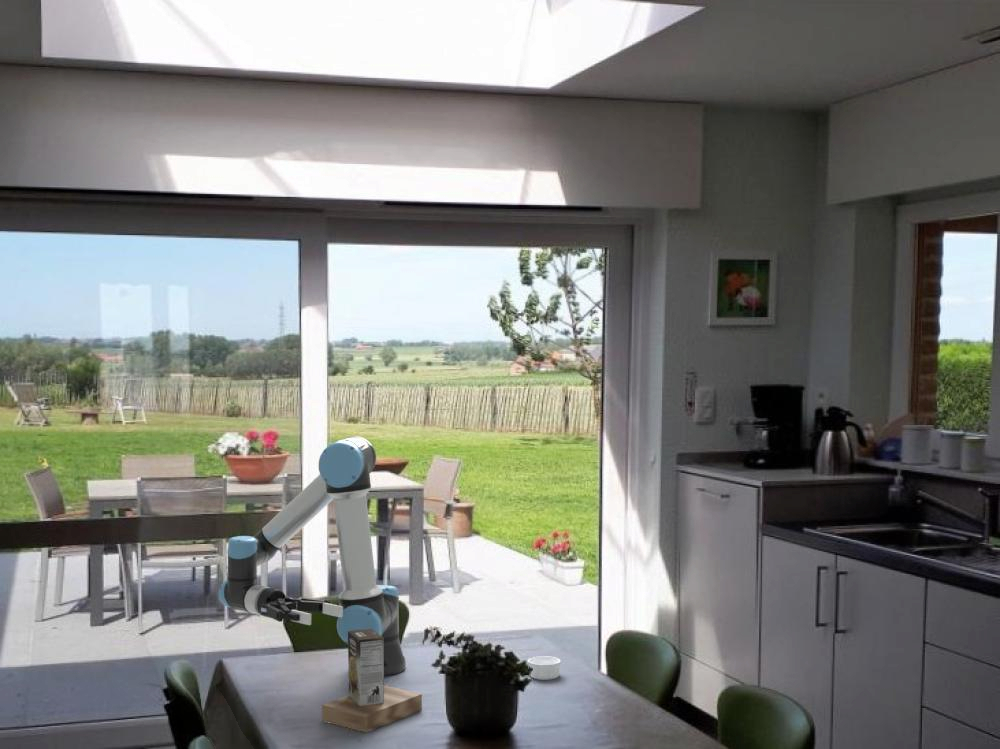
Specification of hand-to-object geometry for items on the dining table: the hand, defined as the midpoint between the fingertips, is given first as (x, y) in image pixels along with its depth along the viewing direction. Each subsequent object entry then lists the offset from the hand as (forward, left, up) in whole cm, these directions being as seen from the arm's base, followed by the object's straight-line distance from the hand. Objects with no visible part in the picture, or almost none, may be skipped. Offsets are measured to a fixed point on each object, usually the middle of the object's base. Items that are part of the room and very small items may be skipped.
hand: (326, 615), depth 300 cm
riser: (+2, +18, -21) cm, 28 cm away
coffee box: (+3, +17, -18) cm, 25 cm away
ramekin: (-49, +33, -22) cm, 63 cm away
